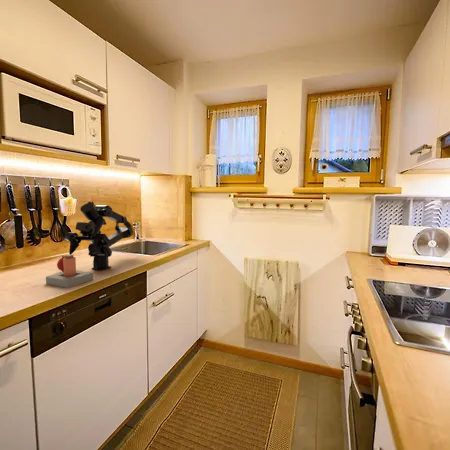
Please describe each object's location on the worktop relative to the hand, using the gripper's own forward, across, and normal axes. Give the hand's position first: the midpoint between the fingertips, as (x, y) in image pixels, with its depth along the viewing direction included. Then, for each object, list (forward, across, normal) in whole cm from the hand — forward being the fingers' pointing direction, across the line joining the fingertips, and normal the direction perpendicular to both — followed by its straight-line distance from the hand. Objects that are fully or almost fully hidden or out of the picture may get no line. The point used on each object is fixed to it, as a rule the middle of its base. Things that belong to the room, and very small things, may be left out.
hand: (79, 254), depth 117 cm
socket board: (+12, 0, +3) cm, 12 cm away
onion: (+3, -12, +11) cm, 17 cm away
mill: (+12, 0, +3) cm, 12 cm away
